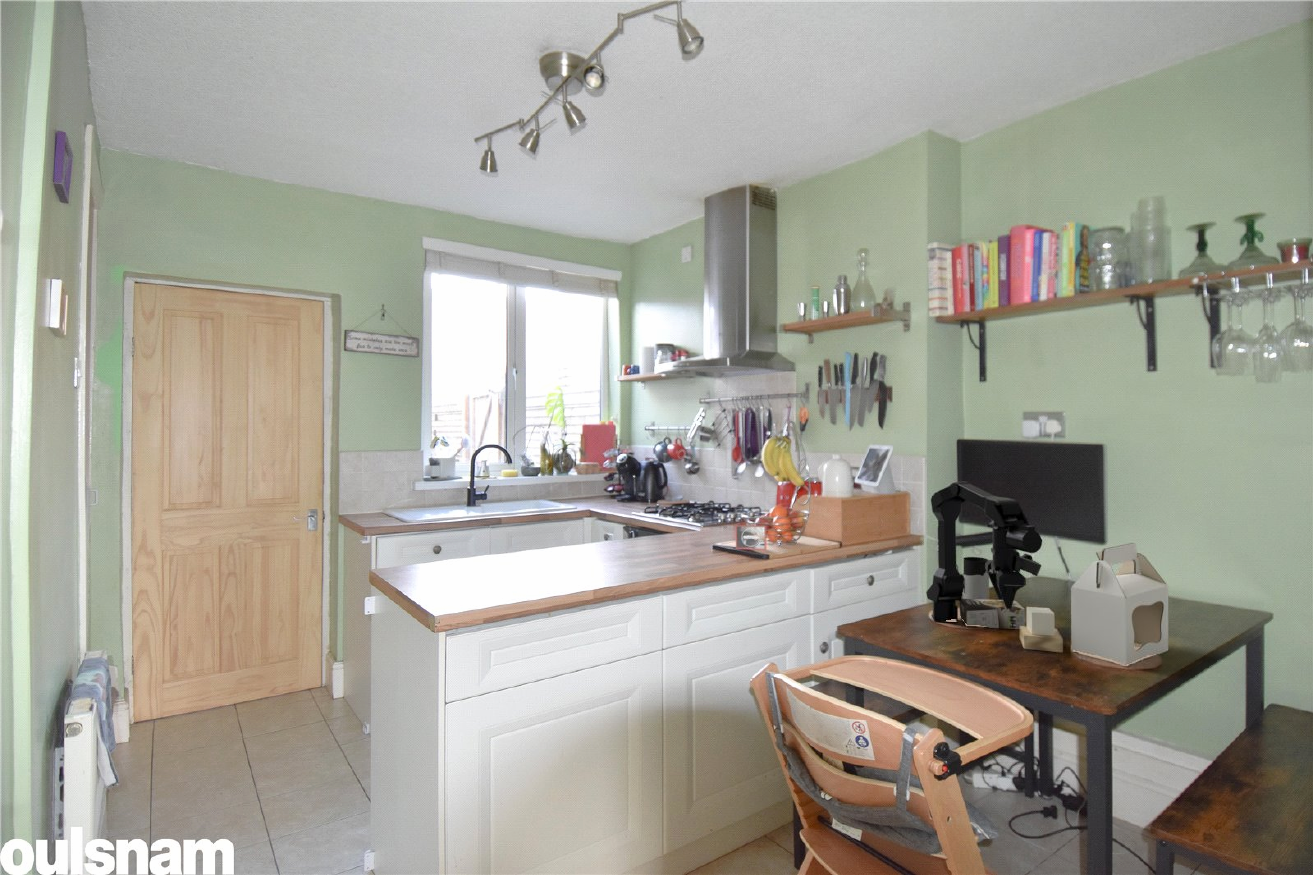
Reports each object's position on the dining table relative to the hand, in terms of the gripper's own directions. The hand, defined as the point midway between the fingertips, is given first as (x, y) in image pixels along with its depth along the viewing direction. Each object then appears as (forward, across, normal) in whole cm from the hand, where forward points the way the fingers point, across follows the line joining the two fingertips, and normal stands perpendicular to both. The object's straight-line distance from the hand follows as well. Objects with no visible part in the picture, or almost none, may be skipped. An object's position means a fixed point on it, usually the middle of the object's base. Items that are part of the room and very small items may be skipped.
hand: (1004, 604), depth 179 cm
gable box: (+12, +4, -28) cm, 31 cm away
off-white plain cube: (+8, +5, -10) cm, 14 cm away
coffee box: (+9, +23, -9) cm, 26 cm away
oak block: (+12, +5, -10) cm, 17 cm away
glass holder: (+12, +46, +2) cm, 48 cm away
